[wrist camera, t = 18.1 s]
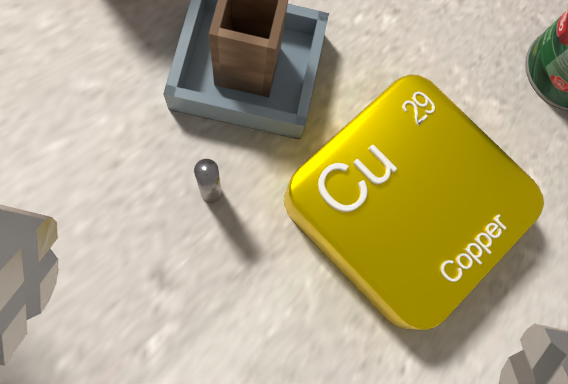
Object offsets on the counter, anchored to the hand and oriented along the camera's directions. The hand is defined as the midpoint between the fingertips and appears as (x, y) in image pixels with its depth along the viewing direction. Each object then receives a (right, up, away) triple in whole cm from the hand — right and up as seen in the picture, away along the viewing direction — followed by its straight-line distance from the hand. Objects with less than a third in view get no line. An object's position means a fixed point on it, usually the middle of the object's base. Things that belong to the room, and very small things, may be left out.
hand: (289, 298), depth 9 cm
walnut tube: (-3, +12, +34) cm, 37 cm away
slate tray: (-3, +12, +35) cm, 37 cm away
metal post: (-6, +2, +32) cm, 33 cm away
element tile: (+10, +1, +34) cm, 35 cm away
